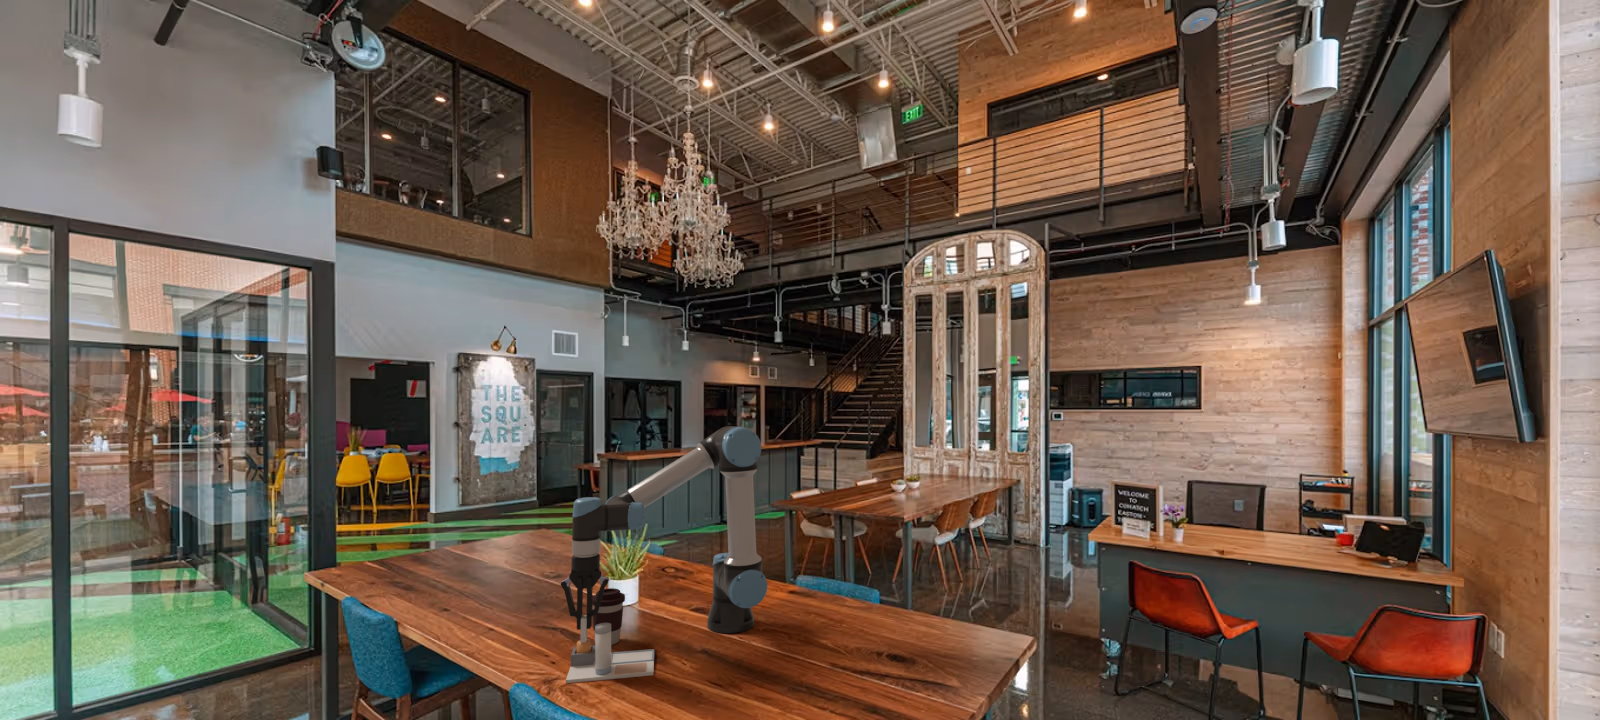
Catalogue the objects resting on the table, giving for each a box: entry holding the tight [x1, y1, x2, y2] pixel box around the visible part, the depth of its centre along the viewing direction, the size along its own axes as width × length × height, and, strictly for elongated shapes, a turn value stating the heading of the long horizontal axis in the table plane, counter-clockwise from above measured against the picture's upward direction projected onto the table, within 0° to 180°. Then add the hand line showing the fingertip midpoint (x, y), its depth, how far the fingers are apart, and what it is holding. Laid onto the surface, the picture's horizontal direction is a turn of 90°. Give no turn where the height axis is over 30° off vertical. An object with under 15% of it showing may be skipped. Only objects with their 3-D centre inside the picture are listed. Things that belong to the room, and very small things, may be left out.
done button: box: [576, 638, 592, 654], centre depth 172 cm, size 4×4×5 cm
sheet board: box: [565, 644, 655, 684], centre depth 170 cm, size 22×16×4 cm
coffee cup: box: [592, 587, 626, 646], centre depth 188 cm, size 10×10×15 cm
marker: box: [594, 623, 612, 675], centre depth 165 cm, size 4×4×12 cm
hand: (583, 640), depth 172 cm, fingers closed
